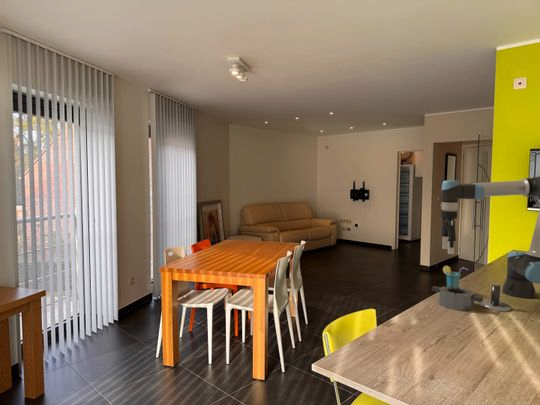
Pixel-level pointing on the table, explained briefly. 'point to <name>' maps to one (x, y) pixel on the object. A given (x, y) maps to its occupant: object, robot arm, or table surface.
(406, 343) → the table surface
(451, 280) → the cup
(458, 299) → the pot
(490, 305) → the lid
